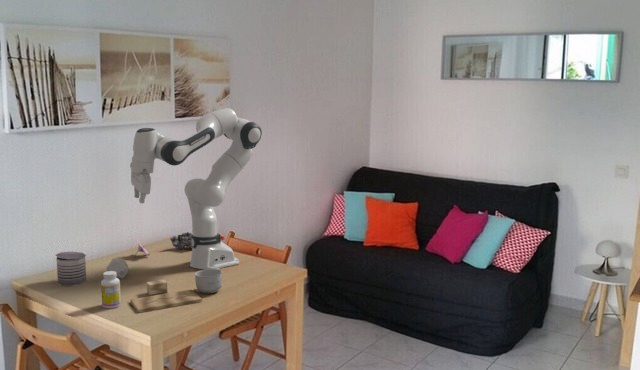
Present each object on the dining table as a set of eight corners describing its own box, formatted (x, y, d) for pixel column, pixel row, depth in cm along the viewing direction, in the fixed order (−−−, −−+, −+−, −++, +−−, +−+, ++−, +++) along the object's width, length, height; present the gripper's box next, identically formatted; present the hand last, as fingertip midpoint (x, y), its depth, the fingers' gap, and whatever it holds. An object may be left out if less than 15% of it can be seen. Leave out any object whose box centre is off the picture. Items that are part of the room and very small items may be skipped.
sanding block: (164, 290, 255) (164, 279, 254) (167, 293, 251) (167, 282, 250) (147, 293, 251) (146, 282, 250) (149, 296, 248) (149, 285, 247)
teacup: (209, 297, 247) (209, 277, 245) (189, 292, 252) (188, 273, 251) (232, 287, 258) (232, 268, 257) (212, 283, 264) (212, 264, 262)
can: (65, 277, 269) (63, 249, 267) (91, 277, 268) (90, 250, 266) (52, 285, 258) (50, 257, 256) (79, 286, 257) (78, 258, 255)
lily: (142, 263, 293) (151, 246, 294) (122, 253, 294) (131, 236, 295) (150, 264, 304) (158, 247, 305) (130, 254, 305) (139, 237, 306)
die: (116, 283, 264) (130, 263, 265) (99, 272, 264) (113, 252, 266) (122, 284, 272) (135, 265, 273) (106, 273, 273) (119, 254, 274)
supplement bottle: (104, 302, 240) (103, 270, 237) (122, 302, 240) (121, 269, 238) (100, 309, 233) (98, 275, 231) (118, 308, 234) (117, 275, 231)
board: (191, 292, 252) (191, 289, 252) (201, 301, 242) (201, 298, 242) (130, 302, 240) (130, 299, 240) (138, 312, 230) (138, 309, 230)
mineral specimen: (166, 242, 310) (179, 224, 311) (175, 244, 320) (187, 227, 320) (186, 257, 307) (199, 239, 307) (194, 259, 316) (207, 241, 317)
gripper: (156, 172, 251) (152, 206, 254) (144, 163, 269) (141, 195, 271) (140, 171, 248) (136, 206, 251) (129, 162, 266) (126, 194, 268)
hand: (139, 200), depth 261 cm, fingers open, 8 cm apart
